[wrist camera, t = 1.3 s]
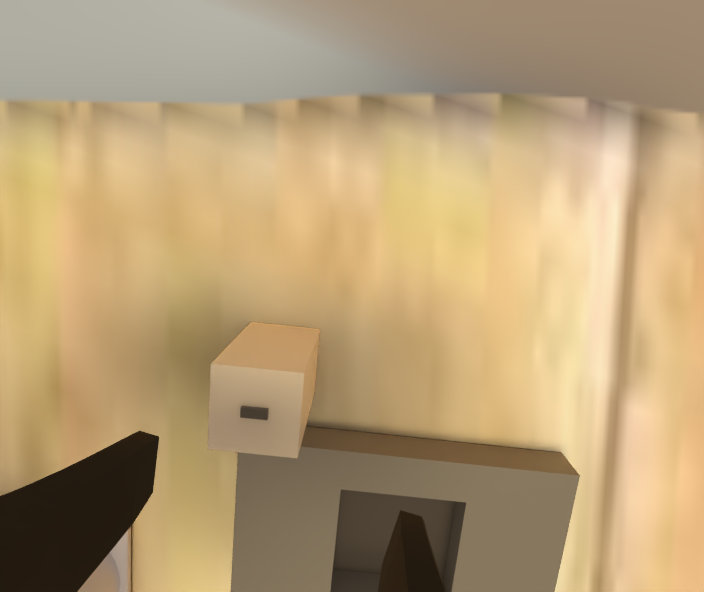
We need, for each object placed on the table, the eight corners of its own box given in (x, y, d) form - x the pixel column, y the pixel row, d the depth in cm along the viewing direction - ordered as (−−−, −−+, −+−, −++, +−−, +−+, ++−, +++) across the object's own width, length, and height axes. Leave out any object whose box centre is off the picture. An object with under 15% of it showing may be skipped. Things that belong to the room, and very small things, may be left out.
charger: (247, 386, 23) (206, 451, 17) (251, 321, 22) (209, 365, 16) (314, 393, 23) (296, 460, 17) (320, 328, 22) (303, 374, 16)
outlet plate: (239, 586, 25) (229, 618, 23) (249, 420, 23) (238, 440, 21) (527, 617, 25) (541, 651, 23) (561, 452, 23) (579, 475, 21)
